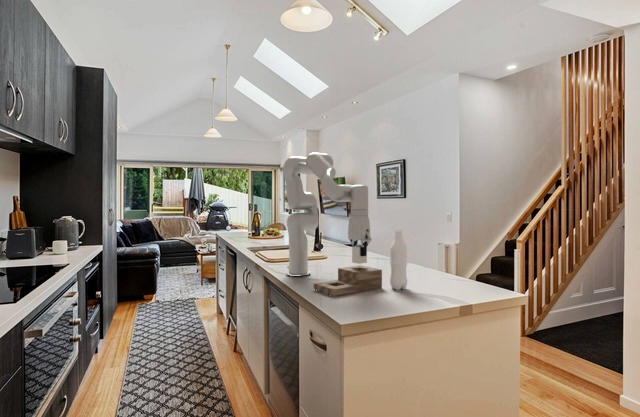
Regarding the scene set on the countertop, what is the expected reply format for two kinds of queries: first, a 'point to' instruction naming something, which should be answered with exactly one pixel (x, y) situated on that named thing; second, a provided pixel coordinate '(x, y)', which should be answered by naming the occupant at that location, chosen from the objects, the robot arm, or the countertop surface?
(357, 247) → the plug
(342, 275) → the wooden stepped block
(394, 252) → the water bottle
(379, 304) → the countertop surface
